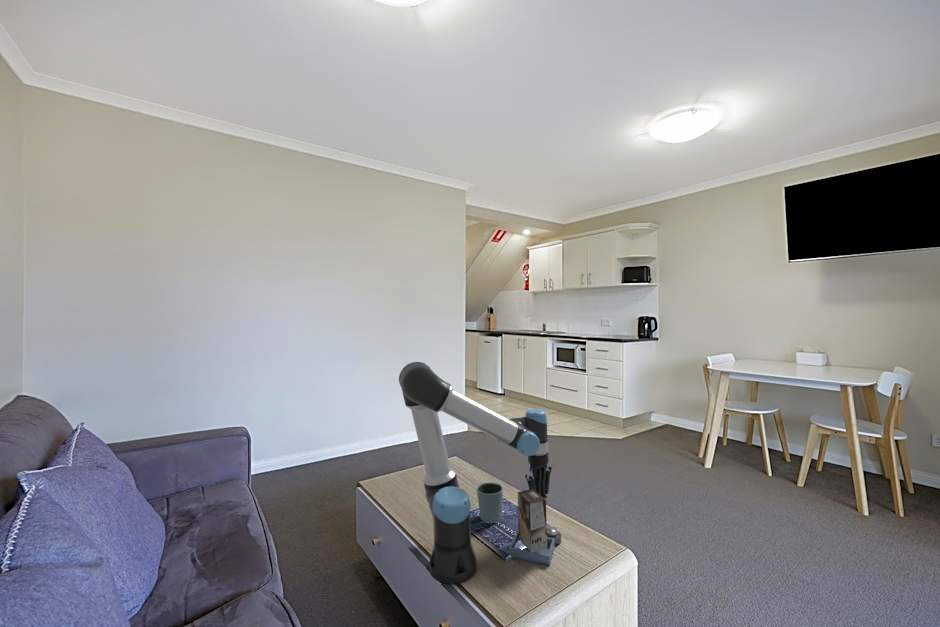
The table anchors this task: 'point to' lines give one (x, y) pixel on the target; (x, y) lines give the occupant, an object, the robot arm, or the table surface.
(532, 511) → the coffee box
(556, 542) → the crank base
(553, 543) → the tray
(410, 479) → the table surface
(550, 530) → the crank
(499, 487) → the green cup
